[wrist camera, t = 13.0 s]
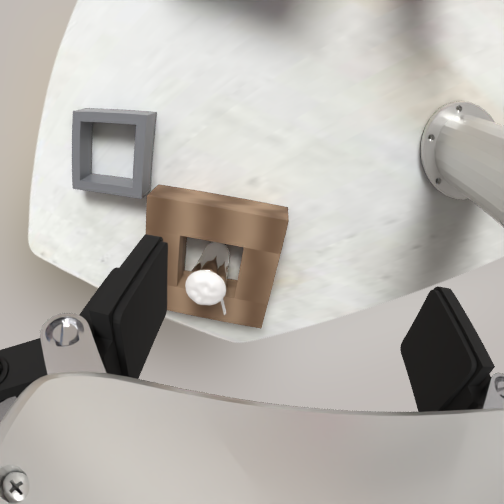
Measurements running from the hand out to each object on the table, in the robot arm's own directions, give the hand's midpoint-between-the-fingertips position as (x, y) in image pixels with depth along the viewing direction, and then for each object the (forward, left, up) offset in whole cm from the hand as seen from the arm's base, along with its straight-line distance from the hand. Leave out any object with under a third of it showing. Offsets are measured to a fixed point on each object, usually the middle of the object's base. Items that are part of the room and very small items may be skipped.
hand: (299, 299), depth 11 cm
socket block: (+6, +16, -28) cm, 33 cm away
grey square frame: (+20, +4, -28) cm, 35 cm away
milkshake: (+5, +16, -28) cm, 33 cm away
